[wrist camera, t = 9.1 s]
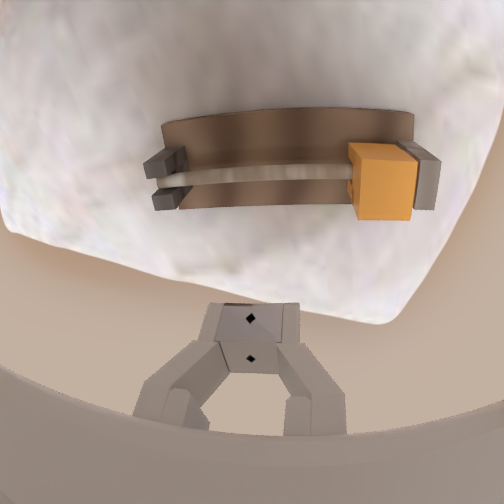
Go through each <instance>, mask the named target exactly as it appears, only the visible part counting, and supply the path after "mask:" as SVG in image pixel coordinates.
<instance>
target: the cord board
mask: <svg viewBox="0 0 504 504" xmlns="http://www.w3.org/2000/svg"><path fill="white" fill-rule="evenodd" d="M161 129H162V134H163V139H164V144H165V149H163V150H162V151H160V152H159V153H157V154H156V155H154V156H153V157H152V158H150V159H149V160H147V161H146V162H144V163H143V166H144V170H145V174H146V178H147V179H151V178H157V186H158V188H159V189H158V190H157V191H156V192H155V193H154V194H153V195H152V196H151V197H152V200H153V204H154V208H155V211H159V210H172V209H176V208H177V207H178V206H179V210H180V209H195V208H213V207H233V206H258V205H293V204H352V200H351V198H350V195H349V193H348V179H352V178H353V164H352V162H351V160H350V158H349V157H348V143H377V144H394V145H396V146H398V147H399V148H400V149H401V150H404V151H405V152H406V153H408V154H409V155H410V156H411V157H412V158H414V159H415V160H416V161H417V162H418V167H417V176H416V184H415V192H414V199H413V206H412V207H413V208H414V209H415V210H434V207H435V202H436V196H437V190H438V184H439V177H440V169H441V161H440V160H439V159H438V158H436V157H435V156H434V155H432V154H431V153H429V152H428V151H427V150H425V149H424V148H422V147H421V146H420V145H418V144H417V143H415V142H414V141H413V135H414V114H411V113H409V112H402V111H391V110H378V109H362V108H284V109H267V110H254V111H243V112H233V113H225V114H217V115H209V116H202V117H196V118H189V119H183V120H178V121H172V122H167V123H165V124H163V125H161Z"/></svg>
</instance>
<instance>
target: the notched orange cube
mask: <svg viewBox="0 0 504 504" xmlns="http://www.w3.org/2000/svg"><path fill="white" fill-rule="evenodd" d="M348 157H349V158H350V160H351V162H352V164H353V178H352V179H348V193H349V195H350V198H351V200H352V204H353V207H354V210H355V212H356V215H357V218H358V220H404V221H410V218H411V212H412V206H413V199H414V192H415V184H416V176H417V167H418V162H417V161H416V160H415V159H414V158H412V157H411V156H410V155H409V154H408V153H406V152H405V151H404V150H401V149H400V148H399V147H398V146H396V145H394V144H377V143H348Z"/></svg>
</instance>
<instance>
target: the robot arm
mask: <svg viewBox="0 0 504 504" xmlns="http://www.w3.org/2000/svg"><path fill="white" fill-rule="evenodd" d="M229 372H231V373H263V374H279V376H280V378H281V380H282V381H283V383H284V385H285V386H286V388H287V390H288V391H289V393H290V395H291V397H290V398H289V399H287V400H286V409H285V421H284V422H285V423H284V433H283V436H264V435H248V434H236V433H235V434H234V433H225V432H216V431H209V424H210V422H209V421H208V419H207V418H206V416H205V415H204V414H203V412H202V411H201V409H200V407H201V406H202V405H203V404H204V403H205V402H206V401H207V399H208V398H209V397H210V396H211V395H212V394H213V393H214V391H215V390H216V389H217V388H218V387H219V386H220V385H221V383H222V382H223V381H224V380H225V379H226V377H227V376H228V375H229ZM0 504H504V400H502V401H499V402H496V403H494V404H491V405H488V406H485V407H482V408H479V409H476V410H473V411H469V412H466V413H462V414H459V415H456V416H452V417H448V418H444V419H440V420H436V421H431V422H427V423H422V424H417V425H412V426H407V427H401V428H396V429H388V430H382V431H374V432H365V433H357V434H356V433H355V434H347V432H346V409H345V394H344V393H343V391H342V390H341V389H340V388H339V386H338V385H337V384H336V382H335V381H333V379H332V377H331V376H330V375H329V374H328V372H327V371H326V370H325V369H324V367H323V366H322V365H321V364H320V362H319V361H318V360H317V359H316V357H315V356H314V355H313V354H312V352H311V351H310V350H309V348H308V347H307V346H306V345H305V343H300V304H299V303H263V304H262V303H258V304H257V303H256V304H241V303H210V304H209V305H208V307H207V311H206V314H205V317H204V320H203V324H202V327H201V330H200V334H199V337H198V340H193V341H192V342H191V343H189V344H188V345H187V346H186V347H185V348H184V349H183V350H181V351H180V352H179V353H178V354H177V355H176V356H174V357H173V358H172V359H171V360H170V361H168V362H167V363H166V364H165V365H164V366H163V367H161V368H160V369H159V370H158V371H157V372H156V373H154V374H153V375H152V376H151V377H149V378H148V379H147V380H146V381H145V382H144V384H143V387H142V389H141V392H140V395H139V398H138V401H137V403H136V406H135V409H134V412H133V415H132V416H131V415H127V414H124V413H120V412H116V411H113V410H109V409H106V408H103V407H100V406H96V405H93V404H90V403H87V402H84V401H82V400H78V399H76V398H73V397H70V396H68V395H65V394H63V393H60V392H57V391H55V390H53V389H50V388H48V387H45V386H43V385H41V384H38V383H36V382H34V381H31V380H30V379H27V378H25V377H23V376H21V375H19V374H17V373H15V372H13V371H11V370H9V369H7V368H5V367H3V366H1V365H0Z"/></svg>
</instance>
